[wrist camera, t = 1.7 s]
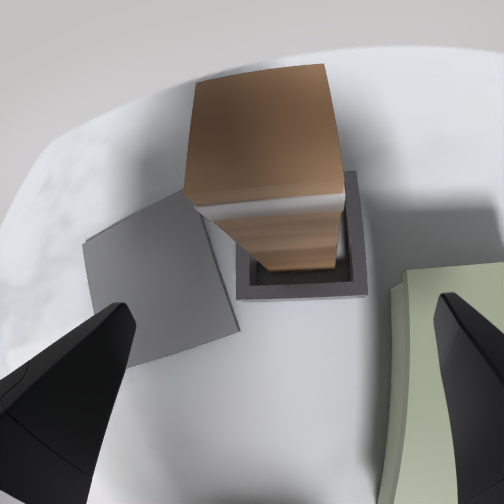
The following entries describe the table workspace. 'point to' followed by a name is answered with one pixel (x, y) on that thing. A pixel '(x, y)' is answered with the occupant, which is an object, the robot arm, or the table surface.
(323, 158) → the banded wooden block
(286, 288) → the dark grey square frame
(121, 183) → the table surface
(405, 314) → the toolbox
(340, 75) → the table surface
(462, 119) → the table surface
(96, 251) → the mat
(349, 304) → the table surface
